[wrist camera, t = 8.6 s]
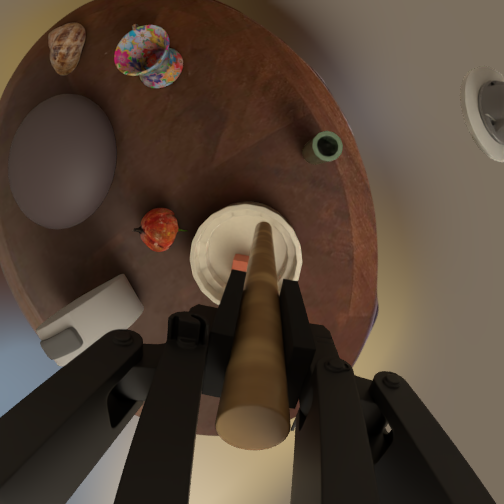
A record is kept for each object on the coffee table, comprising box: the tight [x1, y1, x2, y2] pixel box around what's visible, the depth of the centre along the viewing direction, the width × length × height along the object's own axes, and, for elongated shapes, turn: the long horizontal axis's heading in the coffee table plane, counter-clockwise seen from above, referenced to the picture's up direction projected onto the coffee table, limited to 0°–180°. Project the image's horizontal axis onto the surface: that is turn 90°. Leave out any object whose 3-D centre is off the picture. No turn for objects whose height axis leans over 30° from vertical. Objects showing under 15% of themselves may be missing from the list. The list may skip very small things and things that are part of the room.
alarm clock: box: [36, 274, 144, 366], centre depth 47 cm, size 21×8×20 cm, turn 116°
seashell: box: [48, 22, 86, 75], centre depth 41 cm, size 10×9×10 cm
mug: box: [114, 24, 183, 88], centre depth 40 cm, size 12×9×11 cm
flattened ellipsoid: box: [8, 94, 117, 229], centre depth 43 cm, size 25×25×15 cm
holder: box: [302, 131, 343, 165], centre depth 42 cm, size 4×4×12 cm
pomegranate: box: [132, 208, 187, 252], centre depth 49 cm, size 7×7×10 cm
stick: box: [215, 221, 290, 450], centre depth 21 cm, size 2×2×30 cm
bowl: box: [190, 201, 302, 305], centre depth 50 cm, size 18×18×6 cm
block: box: [231, 254, 249, 272], centre depth 51 cm, size 4×4×4 cm
